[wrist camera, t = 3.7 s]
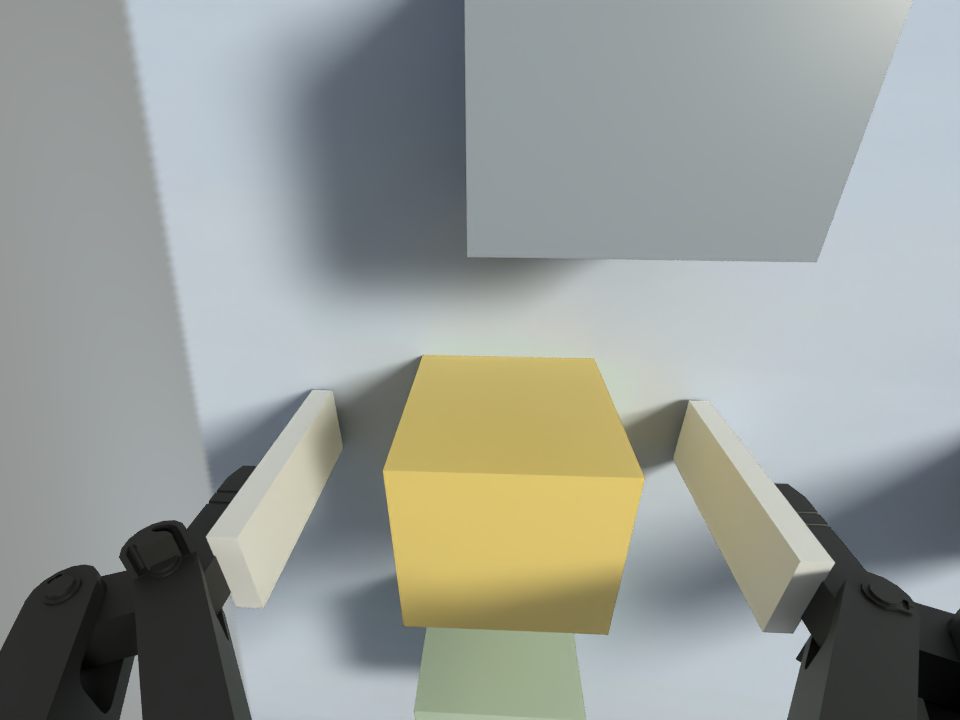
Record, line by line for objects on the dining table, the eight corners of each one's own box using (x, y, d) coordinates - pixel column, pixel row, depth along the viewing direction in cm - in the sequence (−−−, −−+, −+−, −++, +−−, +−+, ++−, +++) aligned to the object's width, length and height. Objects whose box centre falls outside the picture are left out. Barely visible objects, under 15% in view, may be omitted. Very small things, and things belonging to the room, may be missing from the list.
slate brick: (684, 208, 13) (816, 261, 7) (481, 206, 13) (466, 257, 8) (743, -66, 10) (1023, -296, 5) (482, -62, 10) (461, -278, 5)
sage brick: (553, 641, 23) (568, 793, 18) (440, 635, 23) (423, 784, 18) (563, 566, 20) (586, 720, 15) (436, 561, 20) (413, 711, 15)
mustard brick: (575, 485, 18) (608, 634, 13) (431, 481, 18) (403, 626, 13) (593, 357, 15) (644, 478, 10) (423, 354, 15) (382, 470, 10)
